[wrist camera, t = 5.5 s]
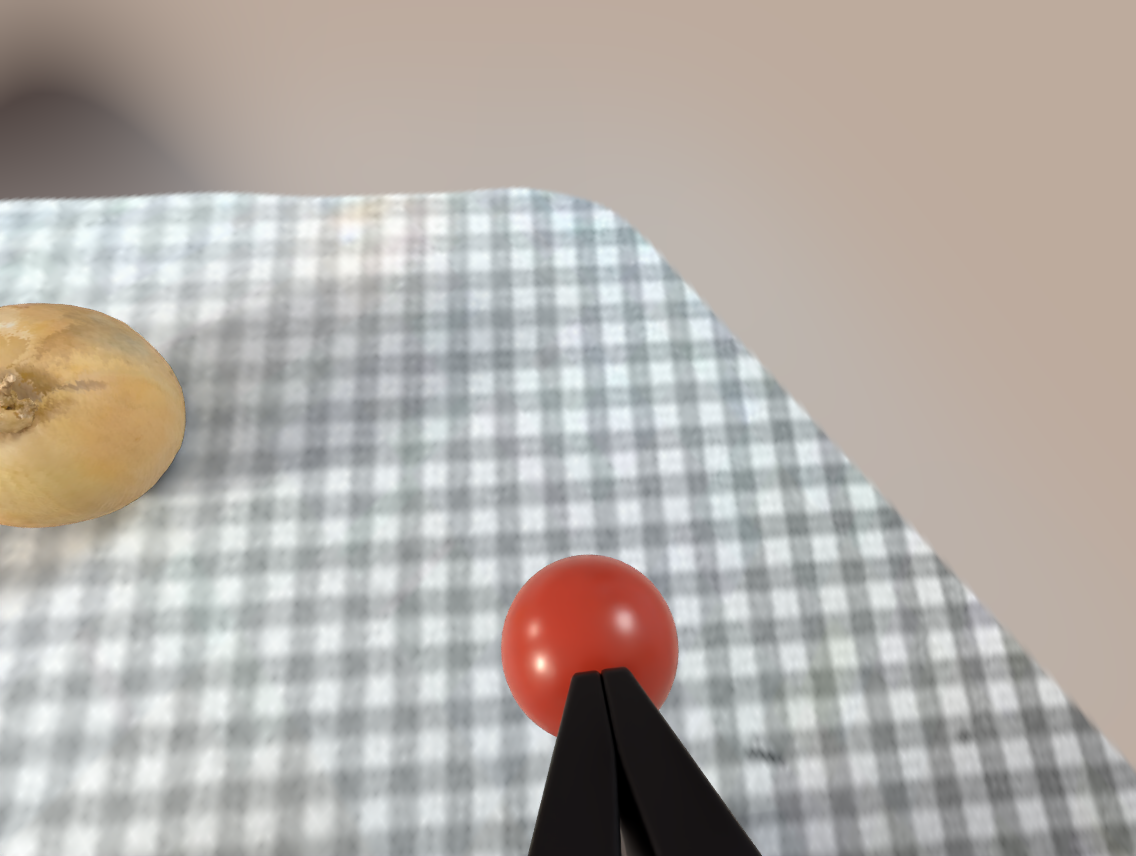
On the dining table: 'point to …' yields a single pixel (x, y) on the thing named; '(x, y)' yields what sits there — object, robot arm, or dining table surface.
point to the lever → (585, 634)
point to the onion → (80, 415)
